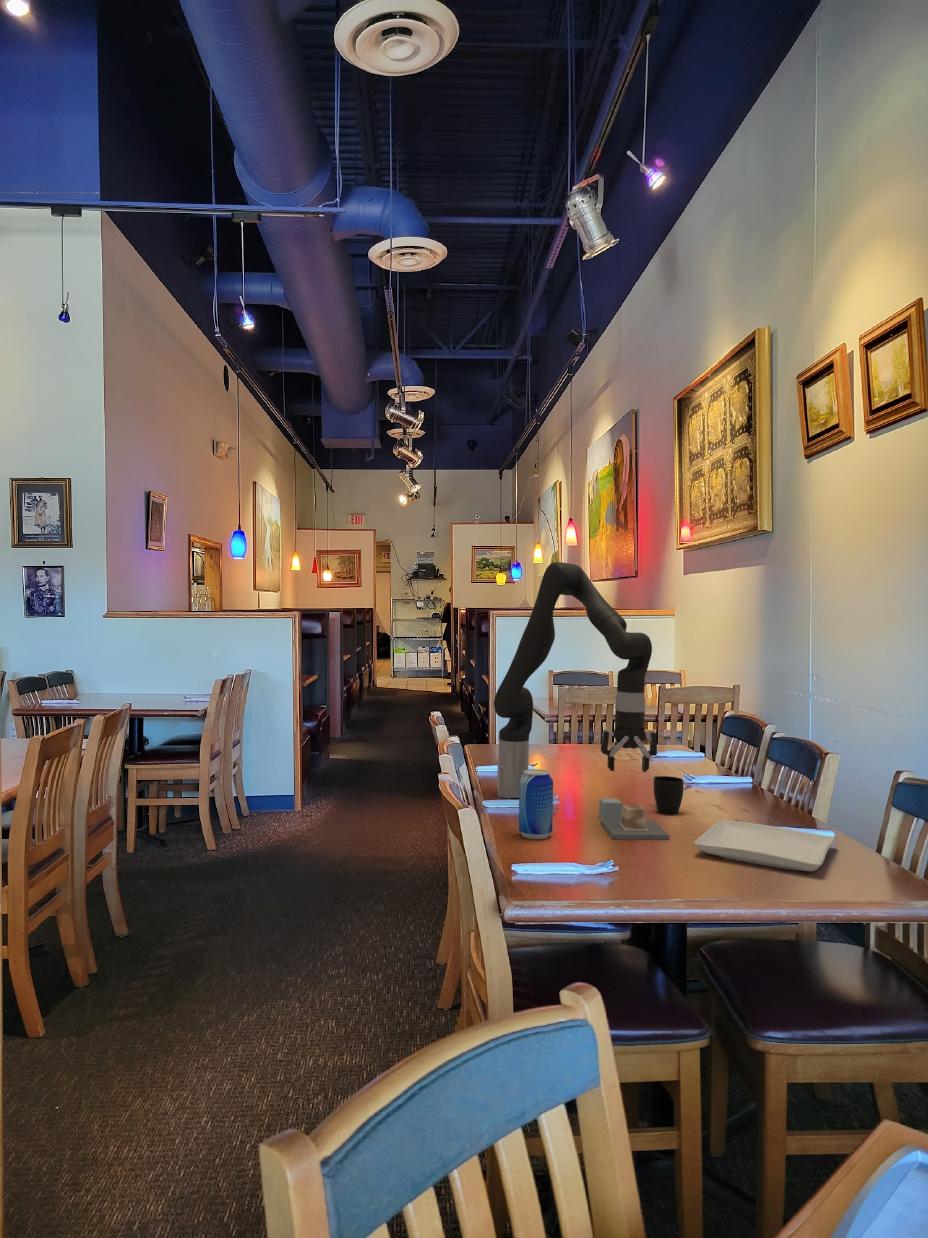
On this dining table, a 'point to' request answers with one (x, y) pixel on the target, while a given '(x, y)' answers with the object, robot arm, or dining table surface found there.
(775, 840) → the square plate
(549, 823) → the beer can
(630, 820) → the maple cube
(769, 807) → the dining table surface
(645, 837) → the board
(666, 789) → the mug
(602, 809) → the bluegrey cube
